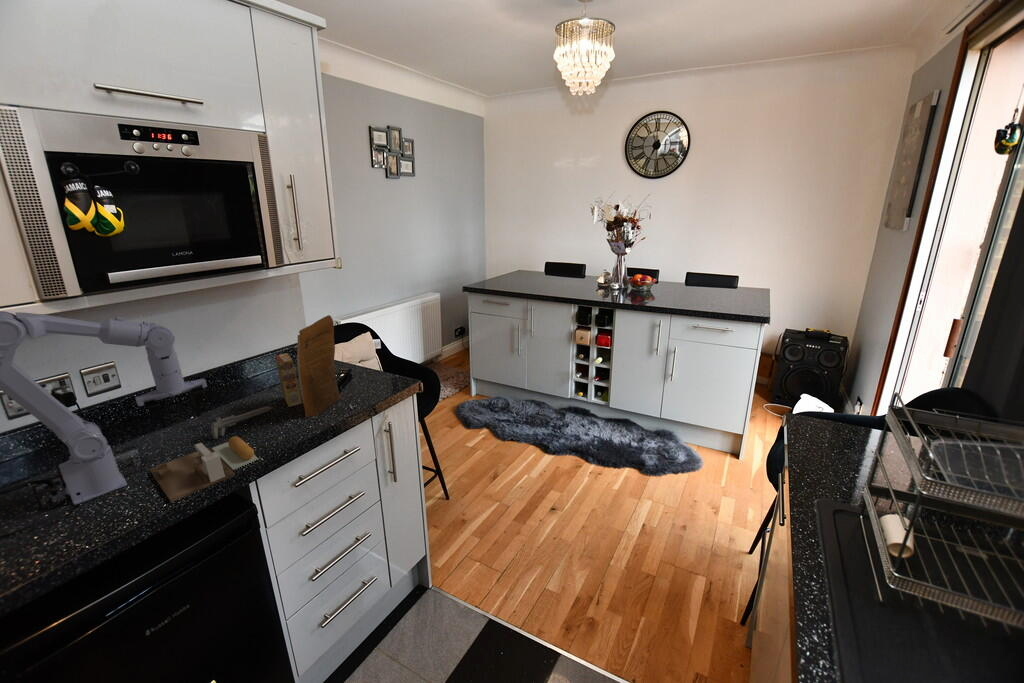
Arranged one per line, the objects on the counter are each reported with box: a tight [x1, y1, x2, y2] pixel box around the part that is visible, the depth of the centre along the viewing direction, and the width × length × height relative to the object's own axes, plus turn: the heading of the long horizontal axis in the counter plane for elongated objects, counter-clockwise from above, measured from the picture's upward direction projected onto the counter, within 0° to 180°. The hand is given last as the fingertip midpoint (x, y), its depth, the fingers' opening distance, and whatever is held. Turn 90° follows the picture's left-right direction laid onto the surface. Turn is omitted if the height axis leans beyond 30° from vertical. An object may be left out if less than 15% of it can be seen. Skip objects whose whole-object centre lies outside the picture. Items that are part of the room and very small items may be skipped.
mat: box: [211, 441, 259, 471], centre depth 121 cm, size 6×16×1 cm, turn 48°
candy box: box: [274, 352, 303, 408], centre depth 149 cm, size 9×4×15 cm, turn 36°
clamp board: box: [149, 447, 235, 503], centre depth 113 cm, size 13×19×3 cm
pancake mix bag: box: [296, 315, 341, 418], centre depth 143 cm, size 7×19×28 cm, turn 164°
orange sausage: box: [227, 435, 255, 459], centre depth 120 cm, size 12×3×3 cm
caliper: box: [210, 406, 273, 440], centre depth 137 cm, size 20×1×6 cm, turn 162°
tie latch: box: [194, 442, 225, 482], centre depth 111 cm, size 3×11×6 cm, turn 48°
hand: (181, 421), depth 118 cm, fingers open, 7 cm apart
